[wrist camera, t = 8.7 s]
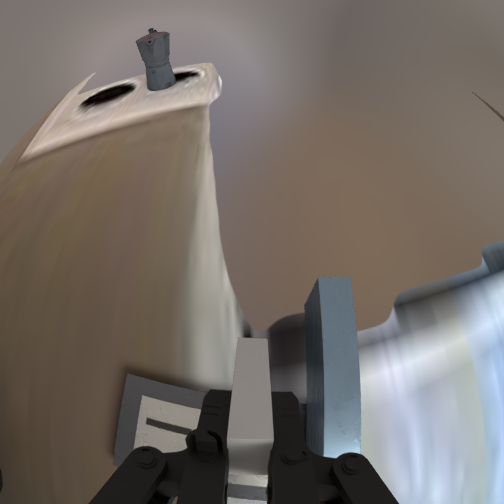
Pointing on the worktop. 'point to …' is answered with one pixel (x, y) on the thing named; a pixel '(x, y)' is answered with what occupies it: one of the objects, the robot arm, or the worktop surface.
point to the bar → (332, 369)
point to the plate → (173, 427)
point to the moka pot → (156, 59)
